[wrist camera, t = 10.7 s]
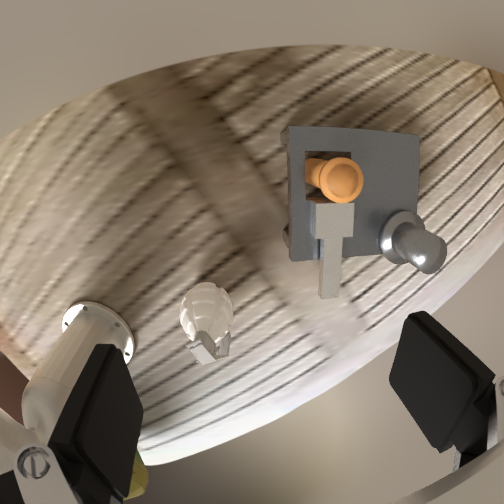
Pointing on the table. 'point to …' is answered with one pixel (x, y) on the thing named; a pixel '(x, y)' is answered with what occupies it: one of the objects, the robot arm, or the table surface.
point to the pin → (335, 178)
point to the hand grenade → (207, 321)
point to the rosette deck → (359, 204)
